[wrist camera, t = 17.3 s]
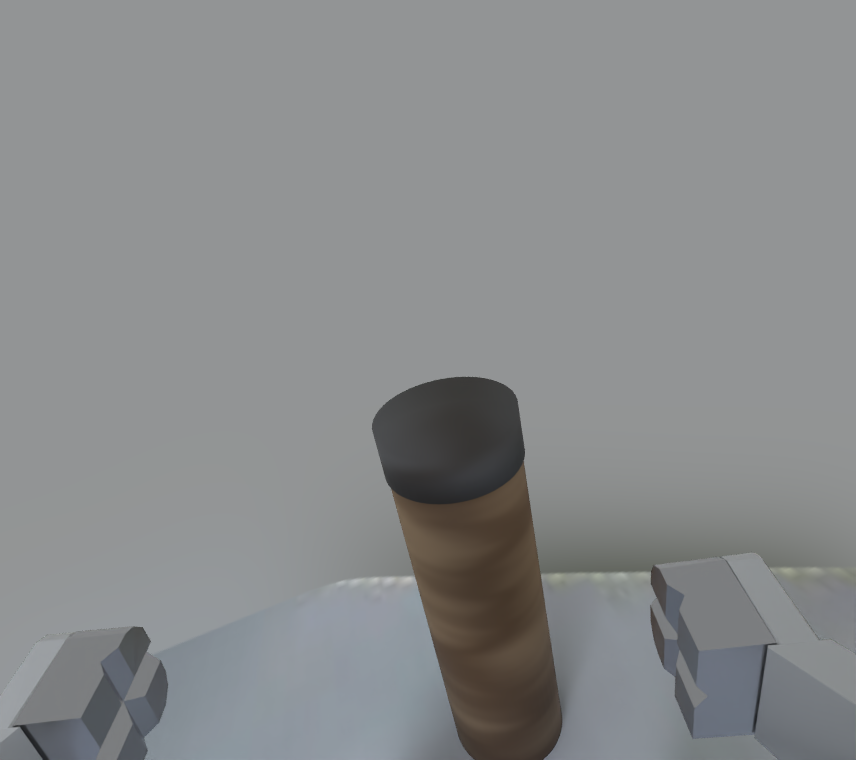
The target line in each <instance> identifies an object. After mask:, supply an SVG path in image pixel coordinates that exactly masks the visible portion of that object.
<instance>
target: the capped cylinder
mask: <svg viewBox="0 0 856 760" xmlns="http://www.w3.org/2000/svg"><path fill="white" fill-rule="evenodd" d="M372 430H373V434H374V438H375V441H376V445H377V449H378V452H379V456H380V460H381V463H382V467H383V471H384V474H385V478H386V481H387V483H388V485H389V486H390V487H391V489H392V493H393V497H394V501H395V504H396V508H397V512H398V515H399V519H400V523H401V526H402V530H403V534H404V537H405V541H406V544H407V548H408V552H409V556H410V559H411V563H412V567H413V570H414V574H415V578H416V581H417V585H418V589H419V592H420V596H421V600H422V603H423V607H424V611H425V614H426V618H427V622H428V625H429V629H430V633H431V637H432V640H433V644H434V648H435V651H436V655H437V659H438V662H439V666H440V670H441V673H442V677H443V681H444V684H445V688H446V692H447V695H448V699H449V703H450V706H451V710H452V714H453V717H454V721H455V725H456V728H457V732H458V736H459V739H460V741H461V743H462V745H463V747H464V748H465V750H466V751H467V752H468V754H469V755H470V756H471V757H472V758H473V759H474V760H543V759H544V758H545V757H546V756H547V755H548V754H549V753H550V752H551V751H552V749H553V748H554V746H555V745H556V743H557V741H558V738H559V736H560V732H561V727H562V715H561V708H560V701H559V695H558V688H557V681H556V675H555V668H554V661H553V654H552V648H551V641H550V634H549V628H548V621H547V614H546V608H545V601H544V594H543V588H542V581H541V574H540V568H539V561H538V554H537V548H536V541H535V534H534V528H533V521H532V515H531V508H530V501H529V494H528V487H527V481H526V474H525V468H524V457H525V449H524V442H523V435H522V428H521V421H520V415H519V408H518V401H517V398H516V395H515V394H514V393H513V391H512V390H511V389H509V388H508V387H507V386H505V385H504V384H501V383H499V382H497V381H493V380H489V379H485V378H478V377H454V378H446V379H440V380H435V381H431V382H427V383H424V384H421V385H418V386H415V387H413V388H410V389H408V390H406V391H404V392H402V393H400V394H399V395H397V396H395V397H394V398H392V399H391V400H389V401H388V402H387V403H386V404H385V405H383V407H382V408H381V409H380V410H379V411H378V412H377V414H376V416H375V418H374V420H373V424H372Z"/></svg>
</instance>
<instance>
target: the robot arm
mask: <svg viewBox="0 0 856 760" xmlns="http://www.w3.org/2000/svg"><path fill="white" fill-rule="evenodd" d="M651 585H652V587H653V590H654V592H655V594H656V597H657V598H656V599H655V600H654V601H653V603H652V604H651V605H650V608H651V625H652V631H653V637H654V641H655V645H656V648H657V651H658V654H659V657H660V659H661V662H662V665H663V667H664V669H665V670H667V671H668V672H669V673H671V674H672V675H673V676H674V677H676V679H675V697H676V699H677V702H678V704H679V707H680V709H681V712H682V714H683V716H684V719H685V721H686V724H687V726H688V729H689V731H690V733H691V736H692V738H693V739H696V738H711V737H725V736H739V735H753V734H755V736H754V738H755V739H756V740H757V741H759V742H760V743H761V744H762V745H763V746H764V747H765V748H766V749H767V750H769V751H770V752H771V753H772V754H773V755H774V756H775V757H776V758H777V759H778V760H856V654H855V653H854V652H852V651H850V650H849V649H847V648H845V647H843V646H842V645H840V644H838V643H837V642H835V641H833V640H832V639H826V640H819V638H818V637H817V635H816V634H815V633H814V631H813V630H812V628H811V627H810V625H809V624H808V623H807V621H806V620H805V618H804V617H803V616H802V614H801V613H800V611H799V610H798V608H797V607H796V606H795V604H794V603H793V601H792V600H791V599H790V597H789V596H788V594H787V593H786V591H785V590H784V589H783V587H782V586H781V584H780V583H779V582H778V580H777V579H776V577H775V576H774V574H773V573H772V572H771V570H770V569H769V567H768V566H767V564H766V563H765V562H764V560H763V559H762V557H761V556H759V555H758V554H756V553H754V552H752V553H745V554H736V555H729V556H721V557H719V558H718V557H713V558H704V559H696V560H689V561H682V562H673V563H665V564H657V565H654V566H653V568H652V571H651ZM150 642H151V641H150V639H149V637H148V636H147V634H146V632H145V631H144V629H143V627H123V628H111V629H100V630H90V631H78V632H73V633H62V634H51V635H46V636H45V637H43V638H42V639H41V640H39V641H38V642H36V644H35V645H34V647H33V648H32V650H31V651H30V652H29V654H28V655H27V657H26V658H25V660H24V661H23V663H22V664H21V666H20V667H19V669H18V670H17V672H16V673H15V675H14V676H13V678H12V679H11V680H10V682H9V683H8V685H7V686H6V688H5V690H4V691H3V692H2V694H1V695H0V760H144V759H145V756H146V754H147V751H148V750H147V746H146V743H145V740H144V737H145V736H146V735H147V734H148V733H149V732H150V731H151V730H152V729H153V728H154V727H155V726H156V725H157V724H158V723H159V721H160V719H161V716H162V713H163V711H164V708H165V706H166V699H167V690H168V681H167V676H166V671H165V669H164V667H163V664H162V662H161V660H159V659H157V658H156V657H154V656H153V655H151V654H149V653H148V652H147V649H148V647H149V644H150Z"/></svg>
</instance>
